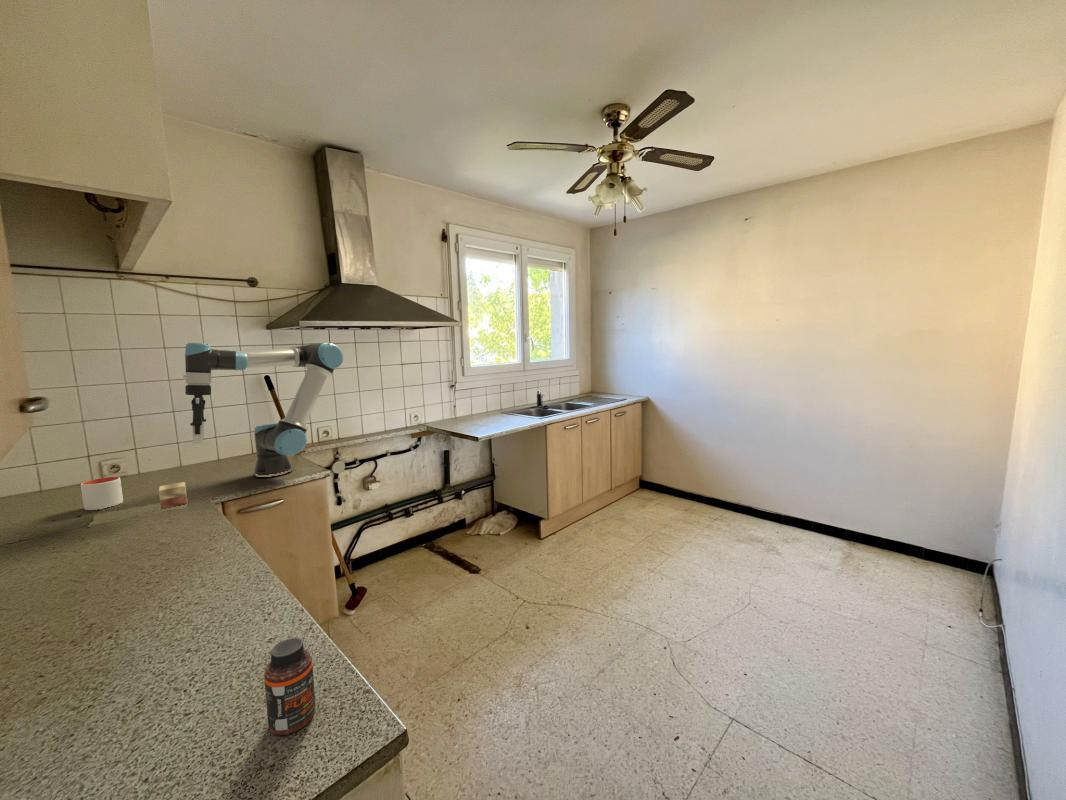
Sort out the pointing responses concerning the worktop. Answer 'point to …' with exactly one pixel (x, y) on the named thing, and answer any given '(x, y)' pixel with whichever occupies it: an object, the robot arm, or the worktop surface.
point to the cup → (101, 493)
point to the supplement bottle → (289, 687)
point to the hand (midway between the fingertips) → (198, 441)
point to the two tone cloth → (172, 495)
